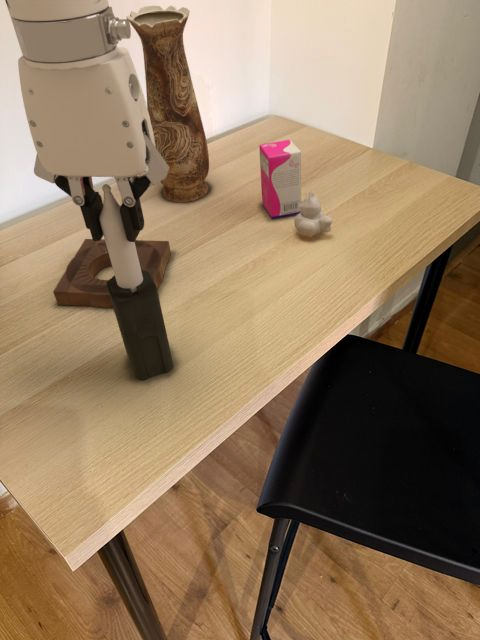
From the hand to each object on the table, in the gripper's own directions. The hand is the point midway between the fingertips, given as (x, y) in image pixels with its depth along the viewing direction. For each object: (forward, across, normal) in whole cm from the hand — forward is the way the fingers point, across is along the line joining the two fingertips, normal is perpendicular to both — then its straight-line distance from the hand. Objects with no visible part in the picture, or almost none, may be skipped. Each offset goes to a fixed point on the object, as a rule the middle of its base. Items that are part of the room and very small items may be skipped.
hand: (117, 232), depth 55 cm
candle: (+20, 0, 0) cm, 20 cm away
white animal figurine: (+20, -20, -32) cm, 43 cm away
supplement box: (+20, -14, -40) cm, 47 cm away
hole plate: (+20, +10, -18) cm, 28 cm away
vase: (+20, +5, -46) cm, 50 cm away
